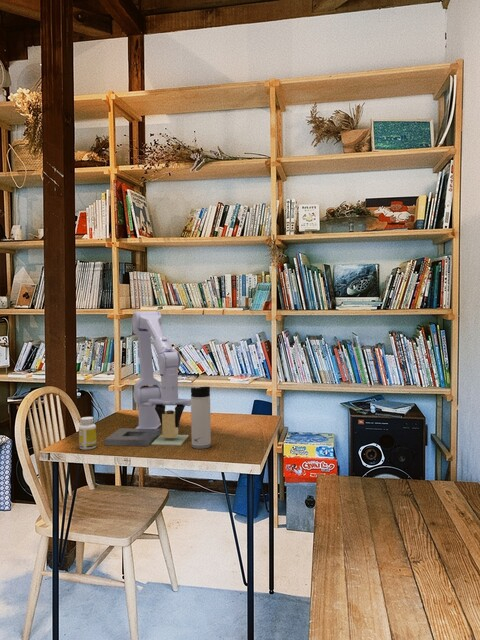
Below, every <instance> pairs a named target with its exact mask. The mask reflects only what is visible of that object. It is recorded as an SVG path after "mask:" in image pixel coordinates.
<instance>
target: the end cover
mask: <svg viewBox="0 0 480 640" xmlns="http://www.w3.org/2000/svg"><path fill="white" fill-rule="evenodd" d="M161 428H162V429H161V432H162V433H161V435H162V438H175V437H176V436H177V435H179V427H176V415H175V410H172V409H169V410H168V409H167V410H165V412H164V413H163V414H162V426H161Z"/></svg>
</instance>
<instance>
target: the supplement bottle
mask: <svg viewBox="0 0 480 640" xmlns="http://www.w3.org/2000/svg"><path fill="white" fill-rule="evenodd" d="M94 420H95V419H94V416H83V417H81V418H80V423H81V424H80V425H79V426H78V447H79V449H81V450H82V451H83V450H85V451H86V450H92V449H96V447H97V425H96V424H95V423H94Z"/></svg>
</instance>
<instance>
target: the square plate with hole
mask: <svg viewBox="0 0 480 640" xmlns="http://www.w3.org/2000/svg"><path fill="white" fill-rule="evenodd" d="M161 432H162V429H161V428H157V429H135V428H132V427H131V428H123V427H120V428H118V429H117V430H115V431H114V432H112V433H111V434H110V435H108V436H107V437H105V438H104V446H113V447H115V446H116V447H117V446H118V447H119V446H125V447H149V446H150V445H151V444H152V443H153V442H154V441H155V440H156V439H157V438H158V437H159V436H160V435H162V433H161Z"/></svg>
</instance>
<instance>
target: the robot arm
mask: <svg viewBox="0 0 480 640" xmlns="http://www.w3.org/2000/svg"><path fill="white" fill-rule="evenodd" d="M162 322H163V319H162V314H161V312H160V311H159V310H153V311H152V310H149V311H147V310H146V311H145V310H144V311H138V310H136V311H135V310H134V312H133V314H132V318H131V325H132V326H131V327H132V333H133V335H136V336H137V344H138V359H139V374H140V378H139V379H138V380H137V381H136V382H135V383H134V384H133V394H132V396H133V400H134V403H135V404H136V405H138V406H137V407H138V425H137V426H136V427H135V428H134V429H159V428H160V427H162V414H163V413H164V412H165V411H166V406H174V411H175V415H176V427H178V428H179V427H180V423H181V418H182V414H183V412H184V409H185V408H186V406H187V407H191V398H190V399H189V398H179V374H178V373H179V371H178V370H179V369H180V366H181V363H182V362H181V355H180V352H179V351H178V350H176V349H174V348H173V346H172V344H171V341H170V340H169V338H168V337H167V336H164V333H163V330H162V327H161V326H162ZM152 339H153V342H152ZM152 346H153V347H154V351H155V352H156V355H157V365H158V368H159V371H158V372H159V374H160V381H159V380H158V379H157V378H155V377H154V364H153V353H152V352H153V351H152ZM178 368H179V369H178Z"/></svg>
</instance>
